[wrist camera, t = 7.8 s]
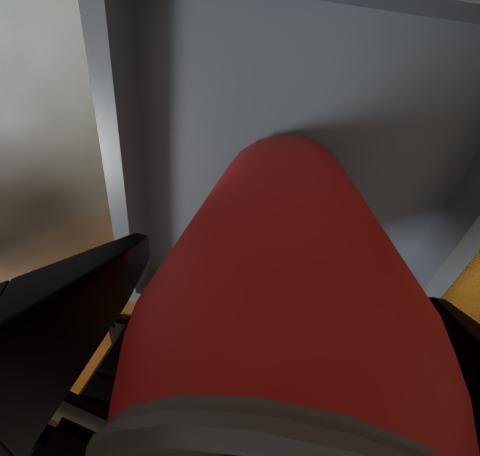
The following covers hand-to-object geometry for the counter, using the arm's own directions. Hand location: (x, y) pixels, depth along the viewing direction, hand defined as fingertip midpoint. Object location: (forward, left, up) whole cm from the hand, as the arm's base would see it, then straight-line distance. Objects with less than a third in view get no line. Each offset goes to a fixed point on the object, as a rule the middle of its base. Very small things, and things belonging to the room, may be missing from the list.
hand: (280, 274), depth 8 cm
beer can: (0, 0, -7) cm, 7 cm away
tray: (0, 0, -7) cm, 7 cm away
